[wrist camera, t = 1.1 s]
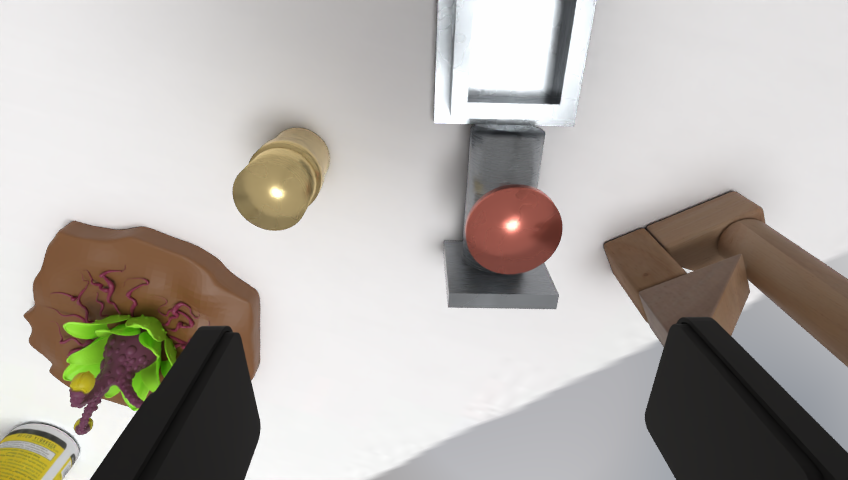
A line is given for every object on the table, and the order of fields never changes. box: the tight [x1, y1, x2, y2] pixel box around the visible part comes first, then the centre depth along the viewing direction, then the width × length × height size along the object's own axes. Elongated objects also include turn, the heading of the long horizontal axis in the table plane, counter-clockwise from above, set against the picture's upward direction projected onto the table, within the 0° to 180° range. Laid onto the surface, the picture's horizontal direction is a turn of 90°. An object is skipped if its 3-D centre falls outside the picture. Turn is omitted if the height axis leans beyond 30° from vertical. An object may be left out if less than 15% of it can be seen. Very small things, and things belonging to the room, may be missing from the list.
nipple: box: [233, 128, 330, 231], centre depth 31 cm, size 5×5×8 cm
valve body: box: [434, 0, 597, 309], centre depth 30 cm, size 21×10×8 cm, turn 179°
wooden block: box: [604, 191, 848, 367], centre depth 30 cm, size 4×11×18 cm, turn 117°
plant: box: [24, 221, 260, 435], centre depth 37 cm, size 20×20×11 cm
